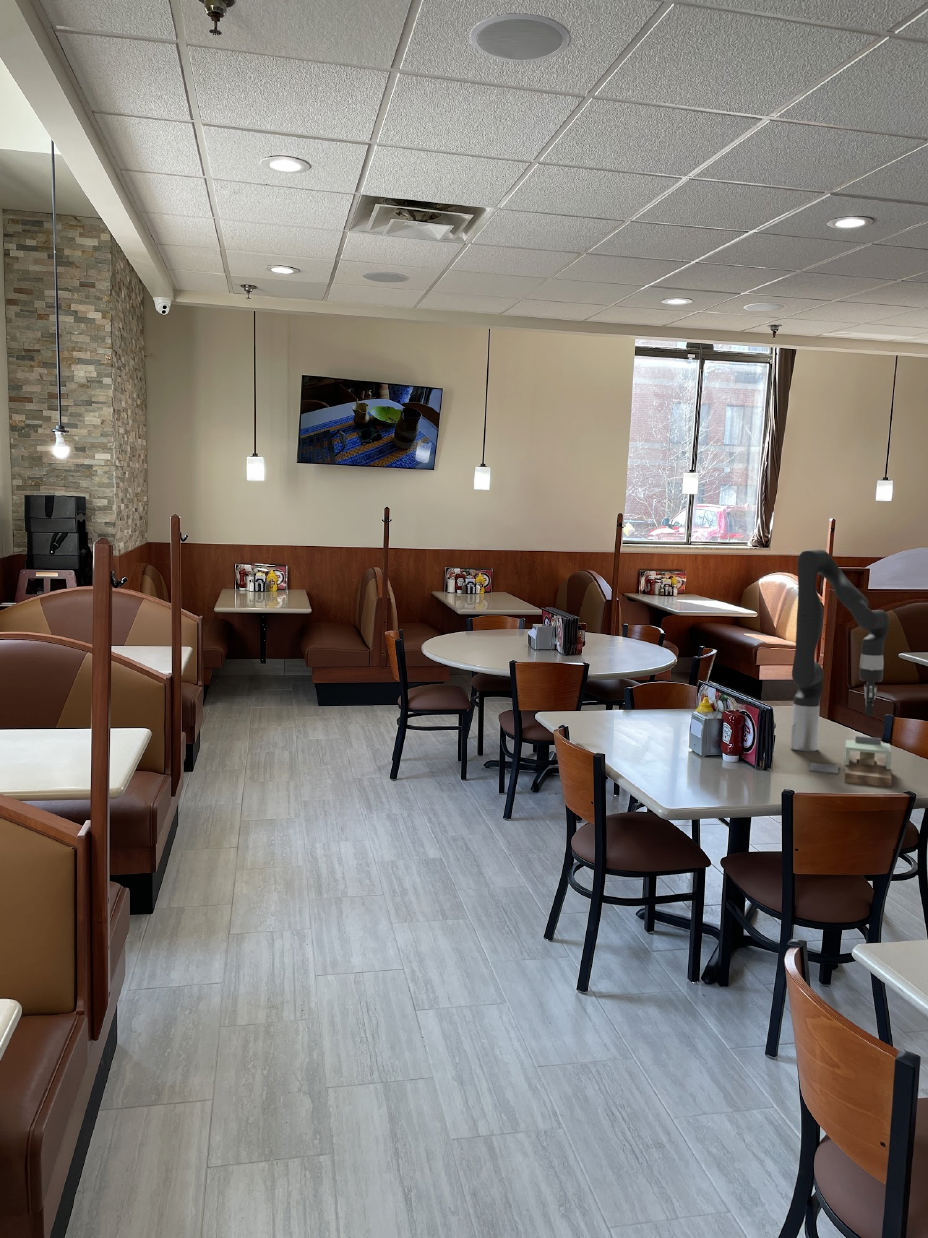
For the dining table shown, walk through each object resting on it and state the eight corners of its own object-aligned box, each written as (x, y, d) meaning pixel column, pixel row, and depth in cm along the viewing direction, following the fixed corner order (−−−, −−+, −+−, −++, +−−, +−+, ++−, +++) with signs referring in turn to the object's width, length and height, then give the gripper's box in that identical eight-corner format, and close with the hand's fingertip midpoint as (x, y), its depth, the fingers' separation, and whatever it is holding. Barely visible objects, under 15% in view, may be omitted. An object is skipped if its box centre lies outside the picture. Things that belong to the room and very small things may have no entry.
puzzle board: (844, 782, 299) (845, 773, 298) (844, 762, 322) (844, 754, 321) (891, 787, 293) (891, 778, 293) (887, 767, 316) (887, 758, 316)
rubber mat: (809, 771, 311) (810, 769, 311) (810, 764, 319) (810, 762, 319) (838, 774, 307) (838, 772, 307) (838, 767, 316) (838, 765, 316)
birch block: (859, 767, 310) (860, 750, 310) (859, 764, 314) (860, 747, 314) (873, 769, 309) (874, 752, 308) (873, 765, 313) (874, 748, 312)
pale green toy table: (845, 764, 307) (846, 741, 306) (844, 756, 317) (846, 734, 316) (890, 769, 302) (891, 745, 301) (888, 761, 312) (890, 738, 311)
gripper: (859, 663, 322) (856, 710, 324) (860, 669, 310) (857, 718, 312) (882, 664, 320) (879, 712, 322) (884, 670, 307) (881, 720, 309)
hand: (868, 715), depth 317 cm, fingers closed
